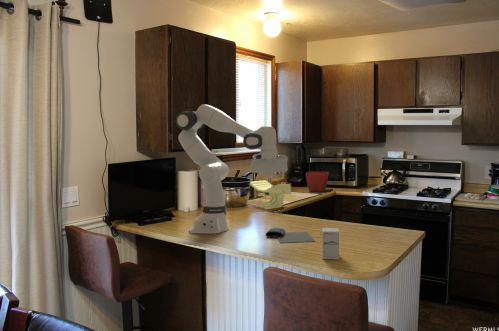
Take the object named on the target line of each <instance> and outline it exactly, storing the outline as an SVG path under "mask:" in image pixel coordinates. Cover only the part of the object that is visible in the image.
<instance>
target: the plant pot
mask: <svg viewBox="0 0 499 331" xmlns="http://www.w3.org/2000/svg"><path fill="white" fill-rule="evenodd" d="M329 173H330V172H329V171H307V172H306V173H305V179H306V180H305V181H306V184H307V188H308V191H309V193H325V192H326V188H327V185H328V184H327V183H328V178H329Z"/></svg>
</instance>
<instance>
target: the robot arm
mask: <svg viewBox="0 0 499 331" xmlns="http://www.w3.org/2000/svg"><path fill="white" fill-rule="evenodd" d="M175 123H176V124H175V125H177V127H178V128H179V129H180V130H182V131H180V133H179V134H178V137H177V138H178V142H179V143H180V145H181V147H182V149H183V150H184V152H185V153H186V154H187V155H188V156H189V158H190V159H191V160H192V161H193V163H194V164H196V165H197V166H199V167H200V170H199V172H198V176H199V178H200V180H201V181H202V185H203V188H204V192H205V205H202V207H201V209H202V213H200V214H199V215H198V216H197V217H196V218H195V219H194V221H193V225H192V226H191V227H190V228H189V233H191V234H220V233H223V232H227V231H229V230H230V228H229V225H228V221H227V205H226V193H225V190H224V188H223V184H222V181H223V180H224V179H225V178H227V176H228V175H229V172H230V169H229V166H228V165H227V164H226V163H225V162H223V161H222V160H221V159H219V157H218V156H216V155H215V154H214V153H213V152H212V151H211V150H210V148H208V147H207V146H206V144H205V143H204V142H203V141H202V139H201V138H200V136H198V133H199V132H200V131H201V129H202V128H203V126H204V125H206V126H207V127H209V128H210V129H212V130H215V131H217V132H222V133H229V134H234V135H236V136H238V137H241V138H242V143H243V146H244V147H245V149H248V150H254V151H255V150H260V152H258V153H255V154H253V155H252V159H251V162H250V172H251V173H252V174H259V173H262V174H263V173H264V176H265V177H266V181H268V182H269V181H273V177H274V175H275V173H284V172H285V173H286V172H287V171H289V170H288V160H289V158H288V156H287V155H285V154H282V155H281V154H278V150H277V132H276V128H275V127H273V126H271V125H260V127H259V128H257V129H256V130H252V129H250V128H248V127H246V126H244V125H243V124H241V123H239V122H238V121H236V120H235V119H233V118H231V117H230V116H229V115H227V114H226V113H225V112H224V111H222V110H220V109H218V108H217V107H214V106H212V105H209V104H205V103H204V104H201V105H200V106H199V107H198V108H197V110H196V111H193V110H186V111H181V112H180V113H178V115H176V118H175ZM268 173H270V174H271V175H270V176H268Z"/></svg>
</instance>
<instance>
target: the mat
mask: <svg viewBox="0 0 499 331" xmlns="http://www.w3.org/2000/svg"><path fill="white" fill-rule="evenodd" d="M276 239H277V240H278V242H279V244H289V243H290V244H291V243H296V244H297V243H312V242H313V243H314V242H316V240H315V239H314V238H313V236H312V235H310V233H309V232H308V231H296V232H295V231H294V232H293V231H292V232H291V231H290V232H285V233H284V235H283V236H282V237H276Z"/></svg>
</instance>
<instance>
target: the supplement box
mask: <svg viewBox="0 0 499 331" xmlns="http://www.w3.org/2000/svg"><path fill="white" fill-rule="evenodd" d="M321 229H322V231H321V234H322V235H321V241H322V242H321V244H322V245H321V249H322V250H321V256H322V260H340V229H339V227H337V228H335V227H322V228H321Z"/></svg>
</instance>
